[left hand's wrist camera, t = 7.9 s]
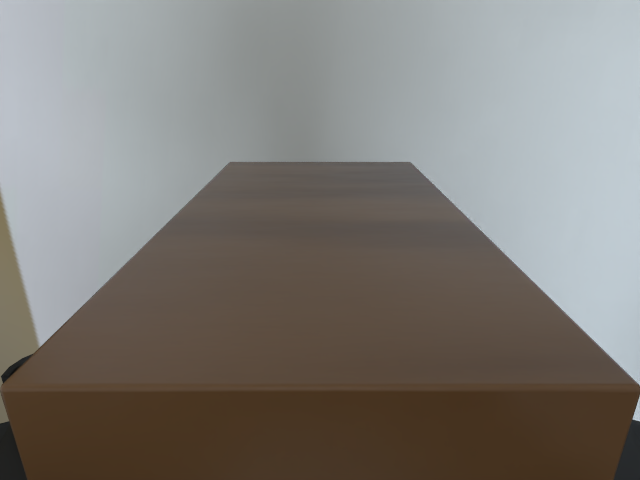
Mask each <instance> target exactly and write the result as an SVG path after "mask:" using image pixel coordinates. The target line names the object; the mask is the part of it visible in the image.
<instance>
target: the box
mask: <svg viewBox="0 0 640 480" xmlns="http://www.w3.org/2000/svg"><path fill="white" fill-rule="evenodd" d="M0 392H1V396H2V399H3V402H4V405H5V409H6V412H7V415H8V418H9V422H10V425H11V428H12V431H13V435H14V438H15V441H16V445H17V448H18V451H19V454H20V458H21V461H22V464H23V467H24V471H25V474H26V477H27V480H614V477H615V474H616V470H617V467H618V464H619V461H620V457H621V454H622V451H623V448H624V444H625V441H626V438H627V435H628V431H629V428H630V425H631V422H632V419H633V415H634V412H635V409H636V406H637V402H638V399H639V396H640V386H639V384H638V383H637V382H636V381H635V380H634V379H633V378H631V377H630V376H629V375H628V374H627V373H626V372H625V371H624V370H623V369H622V368H621V367H620V366H619V365H618V364H617V363H616V362H615V361H614V360H613V359H612V358H611V357H610V356H609V355H608V354H607V353H606V352H605V351H604V350H603V349H602V348H601V347H600V346H599V345H598V344H597V343H596V342H595V341H594V340H592V339H591V338H590V337H589V336H588V335H587V334H586V333H585V332H584V331H583V330H582V329H581V328H580V327H579V326H578V325H577V324H576V323H575V322H574V321H573V320H572V319H571V318H570V317H569V316H568V315H567V314H566V313H565V312H564V311H563V310H562V309H561V308H560V307H559V306H558V305H557V304H556V303H555V302H553V301H552V300H551V299H550V298H549V297H548V296H547V295H546V294H545V293H544V292H543V291H542V290H541V289H540V288H539V287H538V286H537V285H536V284H535V283H534V282H533V281H532V280H531V279H530V278H529V277H528V276H527V275H526V274H525V273H524V272H523V271H522V270H521V269H520V268H519V267H518V266H517V265H515V264H514V263H513V262H512V261H511V260H510V259H509V258H508V257H507V256H506V255H505V254H504V253H503V252H502V251H501V250H500V249H499V248H498V247H497V246H496V245H495V244H494V243H493V242H492V241H491V240H490V239H489V238H488V237H487V236H486V235H485V234H484V233H483V232H482V231H481V230H480V229H479V228H478V227H476V226H475V225H474V224H473V223H472V222H471V221H470V220H469V219H468V218H467V217H466V216H465V215H464V214H463V213H462V212H461V211H460V210H459V209H458V208H457V207H456V206H455V205H454V204H453V203H452V202H451V201H450V200H449V199H448V198H447V197H446V196H445V195H444V194H443V193H442V192H441V191H440V190H439V189H437V188H436V187H435V186H434V185H433V184H432V183H431V182H430V181H429V180H428V179H427V178H426V177H425V176H424V175H423V174H422V173H421V172H420V171H419V170H418V169H417V168H416V167H415V166H414V165H413V164H412V163H411V162H230V163H228V164H227V165H226V166H225V167H224V168H223V169H222V170H221V171H220V172H219V173H218V174H217V175H216V176H215V177H214V178H213V179H212V180H211V181H210V182H209V183H208V184H207V185H206V186H205V187H204V188H203V189H202V190H201V191H200V192H199V193H198V194H197V195H196V196H195V197H194V198H193V199H192V200H191V201H190V202H188V203H187V204H186V205H185V206H184V207H183V208H182V209H181V210H180V211H179V212H178V213H177V214H176V215H175V216H174V217H173V218H172V219H171V220H170V221H169V222H168V223H167V224H166V225H165V226H164V227H163V228H162V229H161V230H160V231H159V232H158V233H157V234H156V235H155V236H154V237H153V238H152V239H151V240H150V241H149V242H148V243H147V244H145V245H144V246H143V247H142V248H141V249H140V250H139V251H138V252H137V253H136V254H135V255H134V256H133V257H132V258H131V259H130V260H129V261H128V262H127V263H126V264H125V265H124V266H123V267H122V268H121V269H120V270H119V271H118V272H117V273H116V274H115V275H114V276H113V277H112V278H111V279H110V280H109V281H108V282H107V283H106V284H105V285H104V286H102V287H101V288H100V289H99V290H98V291H97V292H96V293H95V294H94V295H93V296H92V297H91V298H90V299H89V300H88V301H87V302H86V303H85V304H84V305H83V306H82V307H81V308H80V309H79V310H78V311H77V312H76V313H75V314H74V315H73V316H72V317H71V318H70V319H69V320H68V321H67V322H66V323H65V324H64V325H63V326H62V327H60V328H59V329H58V330H57V331H56V332H55V333H54V334H53V335H52V336H51V337H50V338H49V339H48V340H47V341H46V342H45V343H44V344H43V345H42V346H41V347H40V348H39V349H38V350H37V351H36V352H35V353H34V354H33V355H32V356H31V357H30V358H29V359H28V360H27V361H26V362H25V363H24V364H23V365H22V366H21V367H20V368H19V369H17V370H16V371H15V372H14V373H13V374H12V375H11V376H10V377H9V378H8V379H7V380H6V381H5V382H4V383H3V384H2V386H1V389H0Z"/></svg>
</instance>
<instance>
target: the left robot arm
mask: <svg viewBox="0 0 640 480" xmlns="http://www.w3.org/2000/svg"><path fill="white" fill-rule="evenodd" d="M32 355H33V354H32ZM32 355H29V356H27V357H24V358H22V359H21V360H19V361H18V362H16V363H15V364H13V365H12V366H10V367H9V368H8V369H7V370H6V371H5V372H4V374H3V375H2V376H1V377H2V381H3V383H4V382H5V381H6V380H7V379H8V378H9V377H10V376H11V375H12V374H13V373H14V372H15V371H16V370H17V369H19V368H20V367H21V366H22V365H23V364H24V363H25V362H26V361H27V360H28V359H29V358H30V357H31V356H32ZM0 480H27V477H26V474H25V471H24V467H23V464H22V461H21V458H20V454H19V451H18V448H17V445H16V441H15V438H14V435H13V431H12V428H11V425H10V422H5V423H1V424H0ZM614 480H640V421H636V420H632V422H631V425H630V428H629V431H628V435H627V438H626V441H625V444H624V448H623V451H622V454H621V457H620V461H619V464H618V467H617V470H616V474H615V477H614Z"/></svg>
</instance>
